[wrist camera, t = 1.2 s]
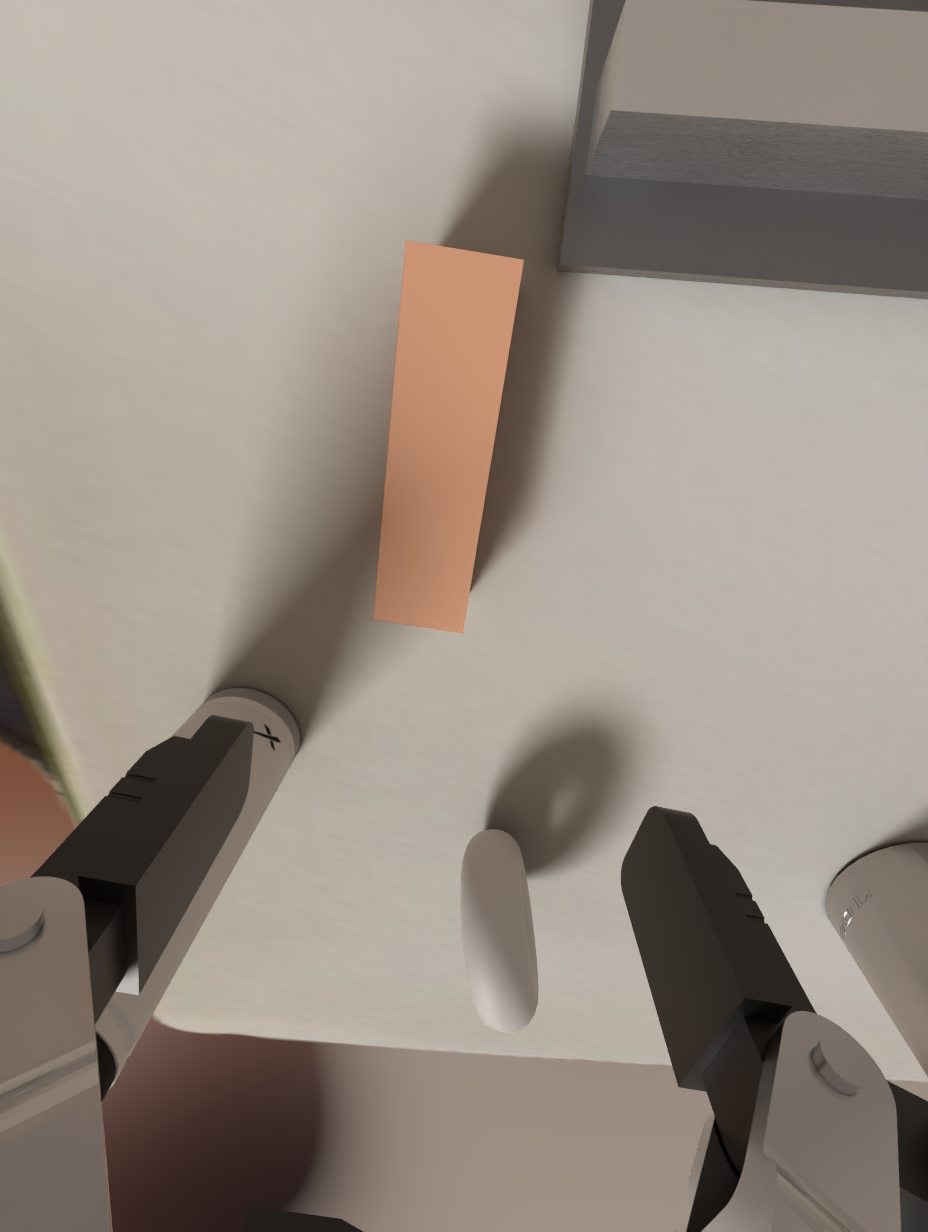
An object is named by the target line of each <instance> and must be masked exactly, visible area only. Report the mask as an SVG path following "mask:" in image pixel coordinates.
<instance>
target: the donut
mask: <svg viewBox="0 0 928 1232" xmlns="http://www.w3.org/2000/svg"><path fill="white" fill-rule="evenodd" d="M461 923H462V936H463V948H464V957H465V964H466V972H467V978H468V983H469V988H470V992H471V996H472V999H473V1002H474V1004H475V1007H476V1009H477V1011H478V1013H479V1016H480V1017H481V1018H482V1020H483V1021H484V1022H485V1023H486V1024H487V1025H488V1026H490V1027H491V1028H493V1029H495V1030H497V1031H501V1032H509V1033H512V1032H515V1031H519V1030H521V1029H522V1028H524V1027H525V1026H526V1025H528V1024H529V1022H530V1021H531V1019H532V1018H533V1016H534V1014H535V1011H536V1007H537V1004H538V971H537V958H536V948H535V938H534V929H533V921H532V913H531V905H530V898H529V891H528V884H527V878H526V872H525V867H524V862H523V858H522V854H521V851H520V847H519V845H518V844H517V842H516V841H515V839H514V838H513V837H512V836H511V835H510V834H508V833H507V832H504V831H502V830H498V829H488V830H485V831H481V832H479V833H478V834H477V835H475V836H474V837H473V838H472V839H471V841H470V842H469V843H468V845H467V848H466V851H465V854H464V858H463V861H462V871H461Z"/></svg>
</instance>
